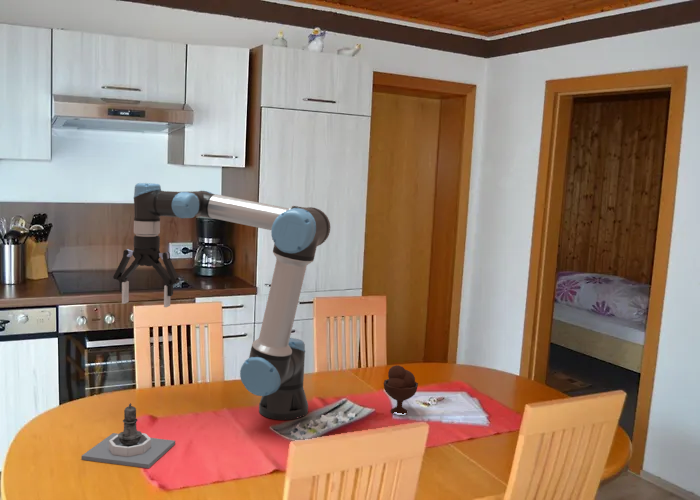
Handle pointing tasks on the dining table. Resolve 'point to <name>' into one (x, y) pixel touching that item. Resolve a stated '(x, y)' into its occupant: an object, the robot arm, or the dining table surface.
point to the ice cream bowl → (400, 386)
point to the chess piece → (129, 428)
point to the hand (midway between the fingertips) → (146, 304)
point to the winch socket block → (129, 451)
